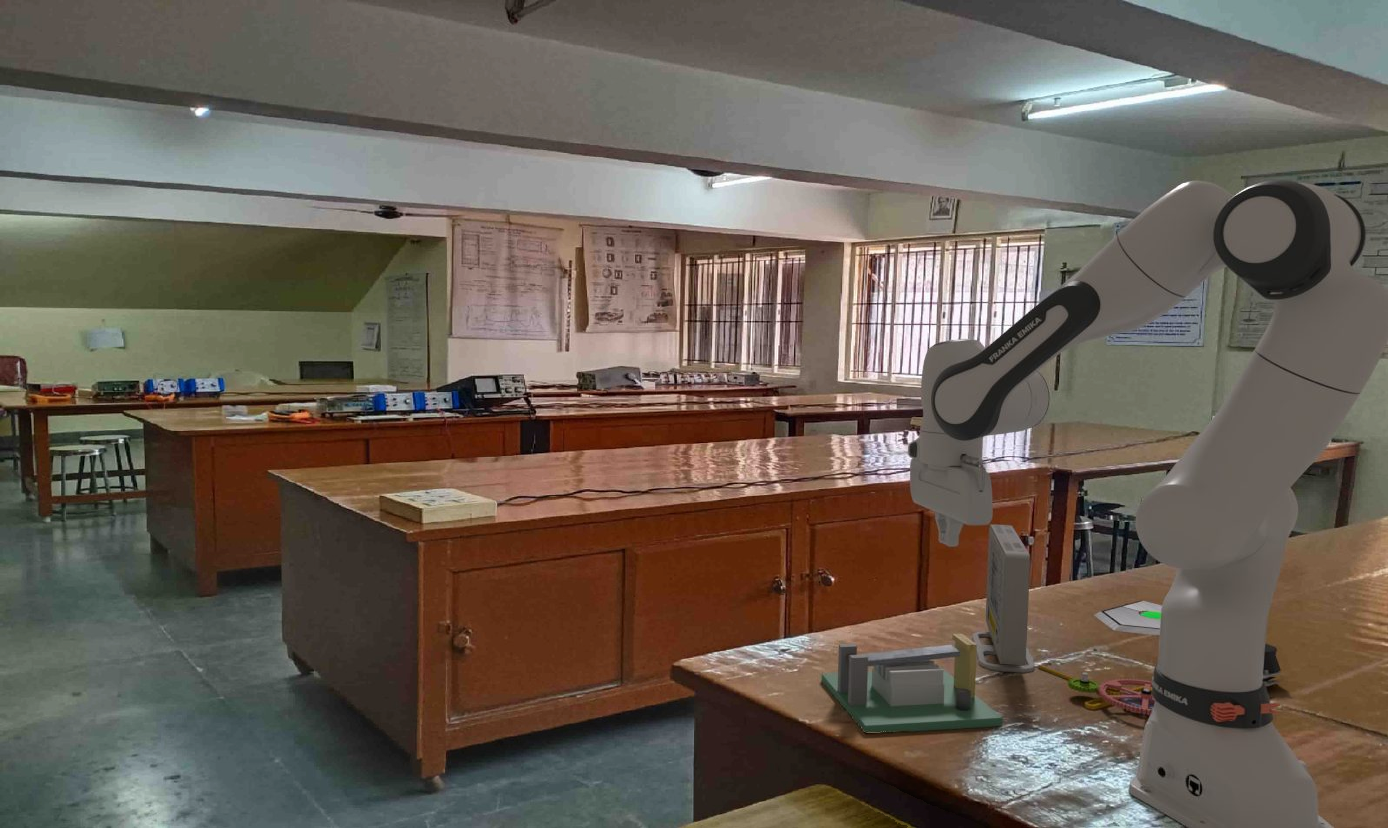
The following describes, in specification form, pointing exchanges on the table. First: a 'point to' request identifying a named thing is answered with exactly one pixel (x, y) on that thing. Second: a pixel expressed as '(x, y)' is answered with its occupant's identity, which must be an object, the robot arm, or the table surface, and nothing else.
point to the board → (916, 712)
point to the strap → (911, 655)
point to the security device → (1133, 618)
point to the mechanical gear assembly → (1113, 692)
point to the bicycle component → (1270, 665)
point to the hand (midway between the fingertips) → (948, 544)
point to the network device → (1006, 602)
